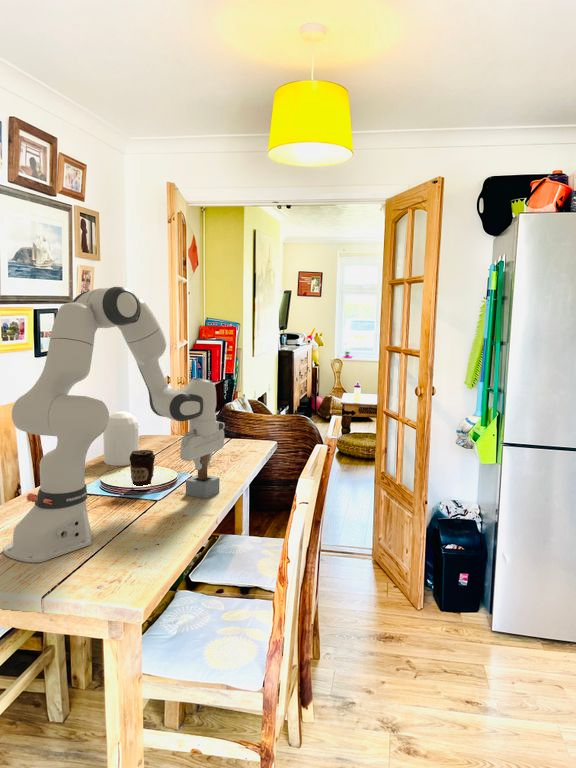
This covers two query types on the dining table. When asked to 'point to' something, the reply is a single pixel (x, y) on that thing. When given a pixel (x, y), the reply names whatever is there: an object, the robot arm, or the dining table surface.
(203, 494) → the socket block
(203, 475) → the dowel
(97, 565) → the dining table surface
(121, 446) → the container
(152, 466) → the coffee cup
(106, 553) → the dining table surface
